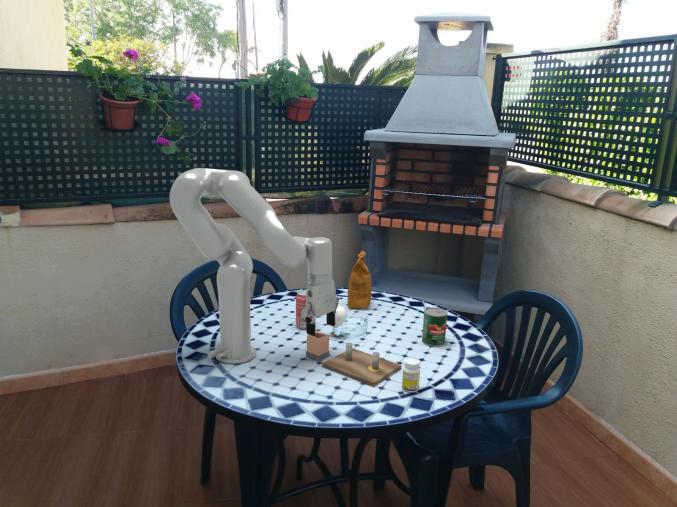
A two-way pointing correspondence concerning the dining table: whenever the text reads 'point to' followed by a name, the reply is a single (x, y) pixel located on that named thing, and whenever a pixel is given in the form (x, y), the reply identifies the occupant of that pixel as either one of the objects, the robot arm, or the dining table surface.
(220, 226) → the robot arm
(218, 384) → the dining table surface
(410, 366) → the supplement bottle
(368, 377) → the pin board
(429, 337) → the canned tomato
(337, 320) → the lightbulb
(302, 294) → the soda can
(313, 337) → the sleeve
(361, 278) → the coffee package
